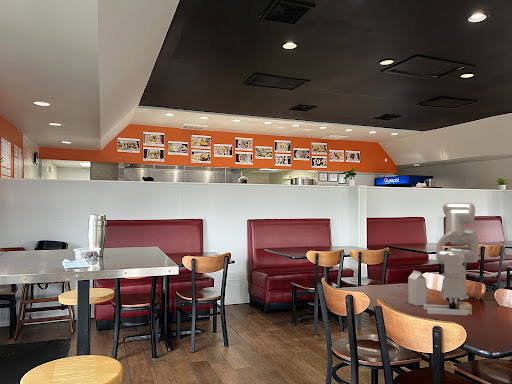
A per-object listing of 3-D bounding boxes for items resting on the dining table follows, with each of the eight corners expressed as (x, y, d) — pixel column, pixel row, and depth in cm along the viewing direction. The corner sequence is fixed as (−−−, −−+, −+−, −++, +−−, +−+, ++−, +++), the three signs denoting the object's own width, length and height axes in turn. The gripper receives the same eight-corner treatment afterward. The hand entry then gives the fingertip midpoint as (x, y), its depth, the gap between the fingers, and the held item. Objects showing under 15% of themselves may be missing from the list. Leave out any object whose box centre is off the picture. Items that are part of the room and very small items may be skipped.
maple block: (456, 311, 224) (455, 302, 224) (467, 311, 223) (467, 302, 223) (459, 314, 218) (459, 304, 218) (471, 314, 217) (471, 305, 217)
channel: (423, 308, 229) (423, 304, 229) (462, 310, 225) (462, 305, 225) (427, 313, 219) (427, 308, 219) (468, 315, 216) (468, 310, 216)
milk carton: (416, 306, 236) (415, 272, 236) (408, 303, 242) (408, 270, 243) (426, 305, 237) (426, 271, 238) (418, 302, 244) (418, 270, 245)
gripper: (439, 276, 220) (439, 311, 219) (469, 277, 217) (470, 312, 216) (435, 274, 227) (436, 308, 227) (465, 275, 224) (465, 309, 224)
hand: (452, 310), depth 222 cm, fingers closed
